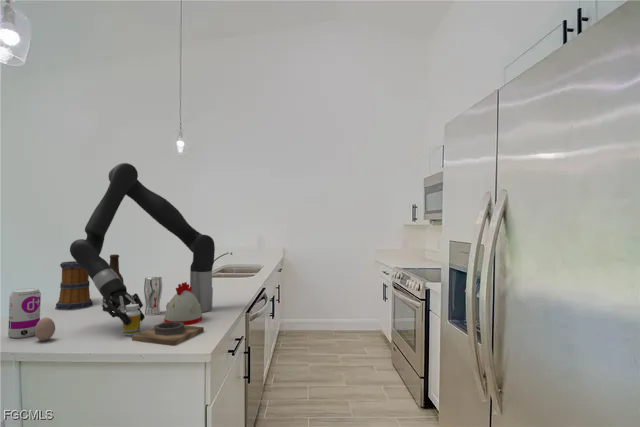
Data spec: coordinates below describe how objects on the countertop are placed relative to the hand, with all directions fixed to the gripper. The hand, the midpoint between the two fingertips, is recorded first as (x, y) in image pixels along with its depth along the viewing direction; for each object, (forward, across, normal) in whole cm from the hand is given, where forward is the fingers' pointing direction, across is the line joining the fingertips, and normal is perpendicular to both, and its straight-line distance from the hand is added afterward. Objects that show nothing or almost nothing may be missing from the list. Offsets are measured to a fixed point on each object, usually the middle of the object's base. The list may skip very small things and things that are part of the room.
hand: (135, 321), depth 126 cm
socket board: (+12, +2, -6) cm, 13 cm away
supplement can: (-21, -13, +27) cm, 36 cm away
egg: (-12, -15, +19) cm, 27 cm away
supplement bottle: (+2, 0, +4) cm, 5 cm away
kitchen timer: (+6, +20, 0) cm, 21 cm away
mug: (-38, +26, +44) cm, 64 cm away
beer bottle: (-22, +25, +28) cm, 44 cm away
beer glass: (-7, +25, +14) cm, 29 cm away
